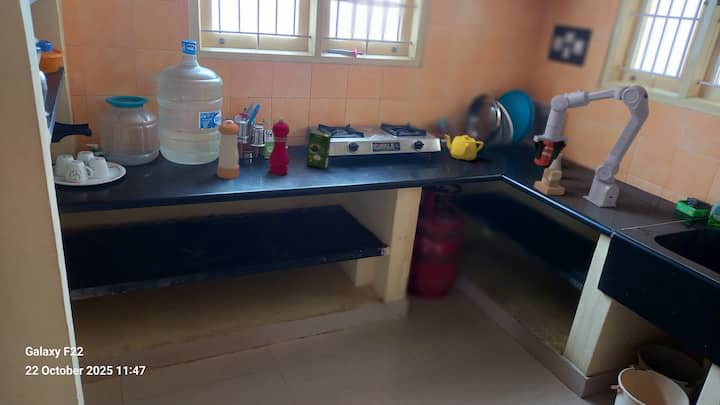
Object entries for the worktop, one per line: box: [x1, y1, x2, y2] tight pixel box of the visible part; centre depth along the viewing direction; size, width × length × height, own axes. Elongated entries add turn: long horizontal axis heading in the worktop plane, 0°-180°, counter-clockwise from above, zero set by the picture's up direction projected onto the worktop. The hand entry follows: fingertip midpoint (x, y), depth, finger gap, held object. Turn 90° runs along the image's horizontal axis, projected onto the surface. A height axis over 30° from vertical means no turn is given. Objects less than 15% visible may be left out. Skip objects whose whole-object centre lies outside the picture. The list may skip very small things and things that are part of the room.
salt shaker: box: [216, 120, 241, 180], centre depth 175 cm, size 7×7×19 cm
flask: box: [548, 152, 564, 180], centre depth 219 cm, size 7×7×10 cm
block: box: [541, 167, 563, 187], centre depth 200 cm, size 4×4×6 cm
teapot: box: [444, 134, 485, 162], centre depth 229 cm, size 14×13×10 cm
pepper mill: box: [268, 117, 290, 176], centre depth 184 cm, size 7×7×20 cm
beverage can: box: [533, 142, 553, 167], centre depth 233 cm, size 6×6×12 cm
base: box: [533, 180, 566, 196], centre depth 202 cm, size 8×8×2 cm
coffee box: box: [306, 130, 332, 170], centre depth 195 cm, size 8×3×13 cm, turn 71°
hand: (545, 159), depth 206 cm, fingers open, 7 cm apart
